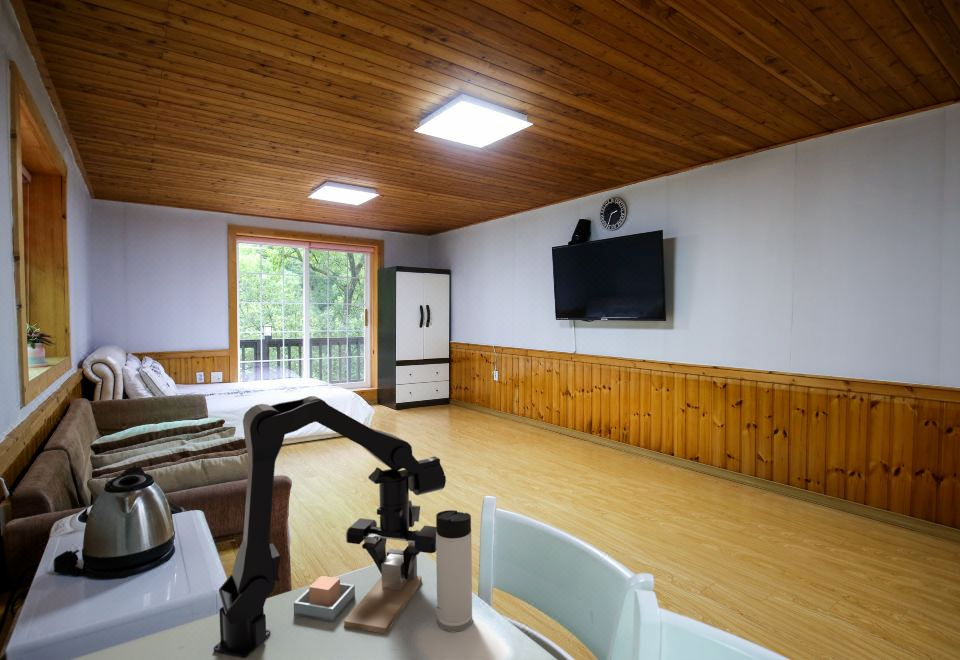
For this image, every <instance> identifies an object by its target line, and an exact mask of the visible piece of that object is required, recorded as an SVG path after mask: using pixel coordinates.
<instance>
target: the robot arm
mask: <svg viewBox="0 0 960 660" xmlns="http://www.w3.org/2000/svg"><path fill="white" fill-rule="evenodd" d="M313 423H318V424H320V425H321V426H323V427H325V428H327V429H329V430H331V431H333V432H335V433H337V434H339V435H340V436H342V437H344V438H346V439H348V440H349V441H351V442H353V443H356V444H357V445H359V446H361V447H362V448H363V449H364V450H366V451H367V452H368V453H369V454H370V455H371V456H373V457H374V458H375V459H376V460H377V461H378V462H381V463H382V464H383V465H385V466H387V467H388V468H389V469H384V470H383V469H381V468H379V467H378V466H377V467H376V468H375V470H374V471H372V473H370V474H369V475H368V480H370V481H371V482H372V483H374V484H375V485H379V487H378V488H379V489H378V490H379V507H378V508H377V509H376V515H377V516H378V515H379V526H378V524H377V523H378V522H377V521H376V520H375V519H369V518H359V519H357V520H356V521H355V522H353V524H351V525H350V526H349V527H348V528H347V529H346V533H345V538H346V539H345V542H346V543H347V544H353V545H354V544H355V545H360V544H361V543H362V542H363V544H361V548H362V549H363V550H366V551H367V552H368V554H369V556H370V557H371V559H372V560H373V562H374V564H375V565H376V567H377V569H378V570H379V573H380V575H382V565H381V563H382V562H383V561H384V560H385V559H386V558H387V551H386V549H387V547H386V545H387V540H395V541H396V540H397V541H401V542H402V541H404V542H407V546H406V548H405V549H403V550H404V551H403V559H404V575H405V579H408V578H409V575H410V572H411V569H412V566H413V563H414V560H415V557H416V555H419V554H420V553H427V554H434V553H436V527H437V526H433V525H432V526H431V525H423V526H422V528H421V529H420V530H419V529H417V530H410V528H413V527H414V526H415V522H416V523H419V522H420V514H421V505H413V503H412V500H410V498H409V497H410V496H409V494H410V492H412V493H413V494H414V495H415V496H420V495H424V494H428V493H432V492H433V493H434V492H436V491H441V490H443V489H444V488H445V487H446V482H447V477H446V474H445V471H444V468H443V467H442V464H441V459H440V458H439V457H437V456H431V457H428V458H426V459H420V460H417V458H415V456H414V454H413V449H412V448H413V447H412V445H411V444H410V443H409V442H408V441H406V440H404V439H402V438H400V437H399V436H396V435H394V434H391V433H388V432H385V431H383V430H378V429H374V428H371V427H369V426H367V425H365V424H364V423H361V422H360V421H358V420H356V419H354V418H352V417H351V416H349V415H347V414H345V413H344V412H343V411H340V410H338V409H336V408H335V407H333V406H331V405H329V404H328V403H327V402H326V401H325V400H323V399H322V398H319V397H318V396H314V395H309V396H307V397H304V398H300V399H295V400H291V401H285V402H278V403H274V404H272V405H270V404H267V403H266V404H265V403H258V404H255V405H254V406H251V407H250V408H249V409H248V410H247V411H245V413H244V415H243V419H242V424H243V425H242V426H243V427H242V428H243V434H244V442H245V447H246V451H247V457H248V464H247V466H248V467H247V480H246V493H245V496H246V497H245V508H244V521H243V522H244V524H243V533H242V534H243V537H242V542H241V544H240V546H239V548H238V551H237V552H236V555H235V559H234V564H233V566H232V571H231V572H232V573H231V575H229V577H228V578H227V579H226V580H225V581H224V582H223V584H222V585H221V586H220V587H219V588H218V594H219V598H220V599H221V601H220V602H221V604H222V606H221V608H219V634H220V635H219V637H220V638H219V639H220V641H219V642H218V643H217V644H215V646H214V647H213V652H216V653H220V654H226V655H230V656H235V657H241V658H246V657H248V656H249V655H250V654H251V653H252V652H254V650H255V649H257V648H258V646H260V644H262V643H263V642H264V641H265V640H266V638H267V637H269V636H270V635H271V632H272V631H271V629H268V628H267V619H266V613H264V611H265V610H264V607H265V603H266V600H267V598H268V597H269V596H270V595H271V594H272V593H273V592H274V590H275V586H276V581H277V582H279V581H280V580H281V578H280V576H279V567H280V563H281V554H280V553H279V552H278V550H277V548H276V547H275V544H274V543H273V542H272V543H270V536H271V525H272V524H271V523H272V510H273V509H272V508H273V494H274V483H275V480H274V479H275V470H276V469H275V467H276V460H277V458H278V455H279V453H281V452H280V451H281V449H282V446H283V445H284V444H283V443H284V440H285V435H288V434H291V433H294V432H297V431H300V429H302V428H304V427H307V426H308V425H310V424H313Z"/></svg>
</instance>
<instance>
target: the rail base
mask: <svg viewBox="0 0 960 660" xmlns="http://www.w3.org/2000/svg"><path fill="white" fill-rule="evenodd" d="M404 550H405V549H403V550H402V549H395V548H389V549H388V550H387V551H386V558H387V557H388V555H389V554H397V555H403V551H404ZM422 579H423V577H422V576H421V575H420V576H419V575H418V556H417V555H416V557H415V560H414V563H413V566H412V569H411V572H410V575H409V580H408V582H407V583H406V585H405V586H404V587H403V589H402V590H401V591H398V590H391V589H385V588H382V575H381V576H380V577H379V579H378V580H377V581H376V582H375V584H374V585H373V586H372V587H371V588H370V590H369V591H367V593H366V595H364V596H363V598H362V599H361V600H360V601H359V603H358V604H357V605H356V606H355V607H354V608H353V610H352V611H351V612H350V613H349V615H348V616H347V617H346V618H345V619H344V621H343V627H346V628H351V629H357V630H363V631H369V632H373V633H374V632H375V633H379V634H385V635H386V634H387V633H388V631H389V630H390V628H391V627H392V626H393V624H394V622H395V621H396V620H397V618H398V617H399V615H400V614H401V612H402V611H403V609H404V608H405V606H406V605H407V604H408V602H409V601H410V599H411V598H412V597H413V594H414V593H415V592H416V590H418V587H419V586H420V584H421V583H422Z"/></svg>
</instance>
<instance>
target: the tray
mask: <svg viewBox="0 0 960 660" xmlns="http://www.w3.org/2000/svg"><path fill="white" fill-rule="evenodd" d="M355 598H356V585H355V584H350V583H344V582H340V599H339V600H338V601H337V602H336V603H335V604H334V605H333V606H332V607H328V606H322V605H316V604H310V596H309V588H308V589H307V590H305V591H304V592H303V593H302V594H301V595H300V596H299V597H298V598H297V599H295V601H294V602H293V616H294V617H297V618H298V617H299V618H304V619H310V620H316V621H321V622H328V623H332V624H333V623H335V621H336V620H337V619H338V618H339V616H340V615H341V614H342V613H343V612H344V611H345V610H346V609H347V607H348V606H349V605H350V604H351V603H352V601H354V599H355Z"/></svg>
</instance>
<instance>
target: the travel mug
mask: <svg viewBox="0 0 960 660" xmlns="http://www.w3.org/2000/svg"><path fill="white" fill-rule="evenodd" d="M435 517H436V518H435V527H436V552H435V554H436V613H437V614H436V618H437V619H436V620H437V621H436V622H437V625H438V626H439V627H440V628H441V629H442V630H444V631H447V632H453V633H454V632H456V633H457V632H461V631H464V630H466V629H467V628H469V627H470V626H471V624H472V623H473V583H472V581H473V580H472V579H473V578H472V577H473V575H472V573H473V572H472V571H473V569H472V568H473V567H472V566H473V565H472V564H473V562H472V550H473V549H472V518H471V517H472V516H471V514H470V513H468V512H462V511H458V510H453V509H452V510H450V509H449V510H443V511H442V510H441V511H439V512H438V513H436V515H435Z"/></svg>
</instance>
